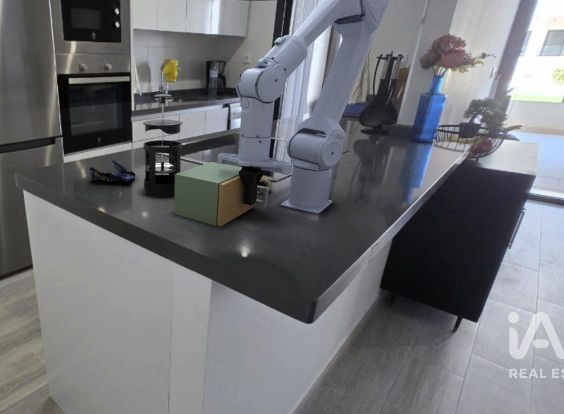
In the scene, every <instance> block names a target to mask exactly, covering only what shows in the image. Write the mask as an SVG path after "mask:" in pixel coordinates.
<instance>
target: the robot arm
mask: <svg viewBox="0 0 564 414" xmlns="http://www.w3.org/2000/svg"><path fill="white" fill-rule="evenodd" d="M390 2H391V0H319V2H318V3H317V5H316V6H315V7H314V9H313V10H311V12H310V13H309V15H308V16H307V17H306V18H305V20H304V21H303V22H302V23H301V24H300V26H299V27H298V28H297V29H296V30H295V32H294V33H293V34H286V35H283V36H281V37H277V38H276V39H275V40H274V41H273V43H274V46H273V47H272V48H271V49H270V50H269V51H268V52H267V53H266V54H265V55H264V56H263V57H262V58H259V59H258V61H257V62H256V65H255V67H252V68H248V69H246V70H245V71H244V72H243V73H242V74H241V76H240V78H239V80H238V83H235V90H236V94H237V96H238V97H239V101H240V102H239V103H240V104H239V105H240V106H239V107H240V109H241V112H240V126H239V137H238V138H239V140H238V153H227V152H221V153H219V154H217V161H216V163H217V164H227V165H233V166H239V167H242V169H241V170H240V171H239V176H240V178H241V180H242V182H243V185H244V198H243V202H244V204H246V205H247V204H248V205H253V204H255V203H256V199H258V197H257V196H258V193H257V186H258V183H259V181H260V180H261V178H262V177H263V176H264V175H265V174H266V172H272V173H279V174H281V175H284V176H288V175H291V177H290V185H289V194H288V199H286V200H284V201H283V202H281V203H280V206H281V207H285V208H287V209H288V208H289V209H293V210H298V211H302V212H307V213H311V214H315V215H319V214H321V213H322V212H323V211H324V210H325V209H327V208H328V207H329V206H331V204H333V200H331V199H329V196H330V189H331V183H332V178H333V174H332V169H334V167H335V166H336V165H337V164H338V163H339V161H340V160H341V158H342V156H343V151H344V143H345V140H346V138H347V134H346V132H345V131H344V129H343V128H342V127H341V125H340V121H341V119H342V117H343V115H344V111H345V110H346V107H347V105H348V102H349V100H350V98H351V95H352V92H353V91H354V89H355V86H356V84H357V81H358V80H359V76H360V74H361V72H362V71H363V70H362V69H363V67H364V65H365V63H366V60H367V58H368V55H369V53H370V51H371V48H372V46H373V44H374V41H375V39H376V36H377V33H378V29H379V27H380V25H381V23H382V21H383V18H384V16H385V13H386V11H387V8H388V6H389V4H390ZM331 25H332V27H333V28H334V30H335V32H336V33H338V34H339V35H340V36H341V42H340V44H339V47H338V49H337V51H336V53H335V57H334V59H333V62H332V64H331V66H330V69H329V72H328V73H327V77H326V79H325V81H324V83H323V86H322V89H321V91H320V94H319V96H318V98H317V100H316V103H315V106H314V108H313V111H312V113H311V115H310V116H309V117H308V118H305V119H304V120H303V121H301V122H299V123H298V125H297V128H296V130H295V131H294V132H293V134H292V135H290V137H289V139H288V141H287V144H286V153H287V156H288V157H289V158H290V162H289V161H283V160H279V159H277V158H271V157H270V151H271V140H272V129H273V119H274V110H275V101H276V100H278V99H279V98H280V97H281V96H282V94H283V92H284V89H285V84H286V82H287V81H288V78H289V77H290V76H291V75H292V74H293V73H294V72H295V71H296V70H297V69H298V67H300V65H301V64H303V62H304V61H305V60H306V59H307V56H308V47H309V46H311V44H313V43H314V42H315V41H316V40H317V39H318V38H319V37H320V36H321V35H322V34H323V33H324V32H325V31H326V30H327V29H328V28H329V27H331ZM253 206H254V205H253Z"/></svg>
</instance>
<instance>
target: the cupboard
mask: <svg viewBox="0 0 564 414" xmlns="http://www.w3.org/2000/svg"><path fill="white" fill-rule="evenodd" d="M241 169H242V167H240V166H234V165H228V164H217V162H215V161H210V162H207V163H204V164H201V165H200V164H199V165H198V166H195V167H192V168H188V169H186V170H183V171H180V173H177V174H175V197H173V198H174V203H173V204H174V205H173V214H174V215H176V216H181V217H185V218H188V219H191V220H194V221H197V222H201V223H205V224H209V225H212V226H215V227H217V220H218V204H219V188H220V184H221V183H224V182H226V181H228V180H230V179H233V178H235V177H237V176H239V171H240V170H241Z"/></svg>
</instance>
